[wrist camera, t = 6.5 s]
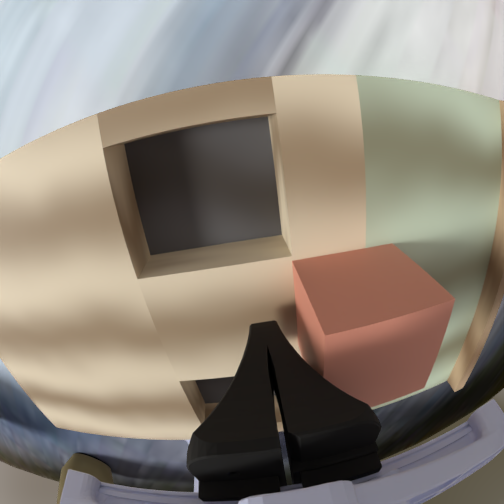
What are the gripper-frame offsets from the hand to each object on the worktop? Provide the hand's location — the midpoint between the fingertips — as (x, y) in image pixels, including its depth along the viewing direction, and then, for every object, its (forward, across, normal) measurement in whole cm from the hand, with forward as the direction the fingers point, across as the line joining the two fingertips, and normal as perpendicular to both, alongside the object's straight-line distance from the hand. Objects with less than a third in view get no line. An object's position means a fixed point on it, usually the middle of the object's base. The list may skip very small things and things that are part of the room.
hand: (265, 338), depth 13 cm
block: (+1, -4, -1) cm, 4 cm away
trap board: (+4, +3, 0) cm, 5 cm away
